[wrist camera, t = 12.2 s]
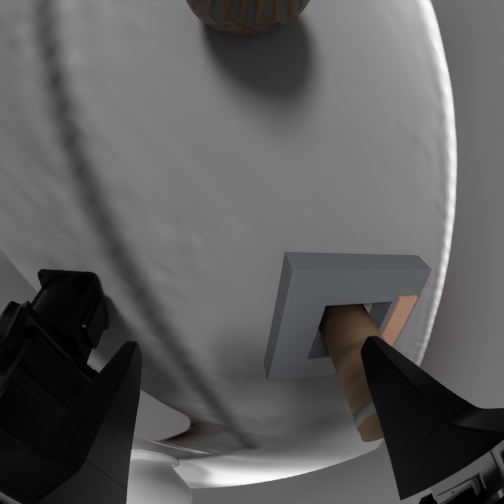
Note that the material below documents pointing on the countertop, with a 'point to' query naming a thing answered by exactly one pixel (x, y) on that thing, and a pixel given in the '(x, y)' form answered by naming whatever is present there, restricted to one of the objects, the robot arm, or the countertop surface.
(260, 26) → the vase
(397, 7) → the countertop surface
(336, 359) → the walnut peg
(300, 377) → the socket block
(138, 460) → the decorative vase
